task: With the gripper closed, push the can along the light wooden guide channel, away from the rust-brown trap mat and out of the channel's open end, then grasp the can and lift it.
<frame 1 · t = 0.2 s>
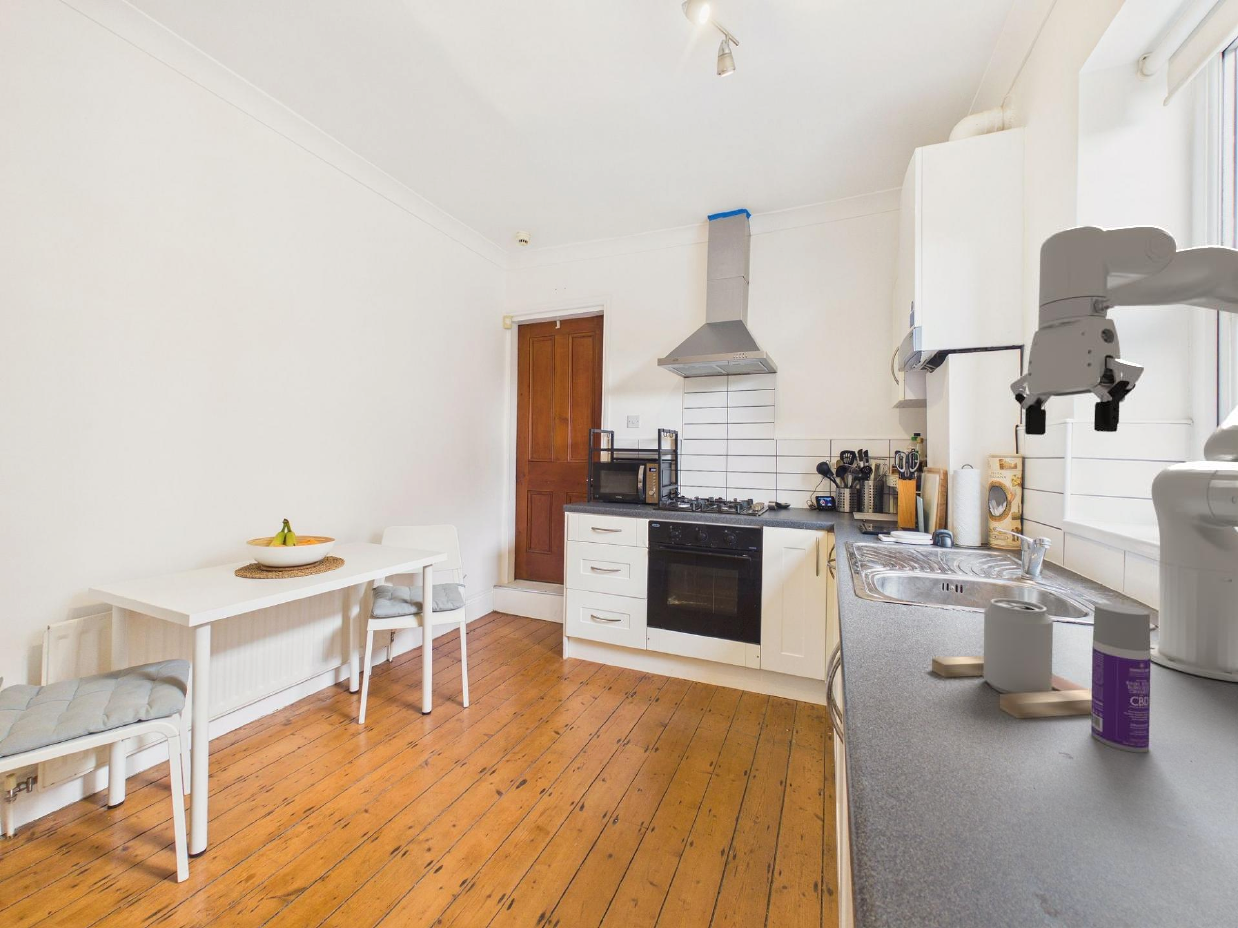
hand: (1068, 433, 75), 36 cm above the table, tool pointing down, fingers open, 9 cm apart
container: (1119, 742, 58), on the table
guide channel: (1022, 688, 71), on the table
can: (1016, 690, 71), on the table
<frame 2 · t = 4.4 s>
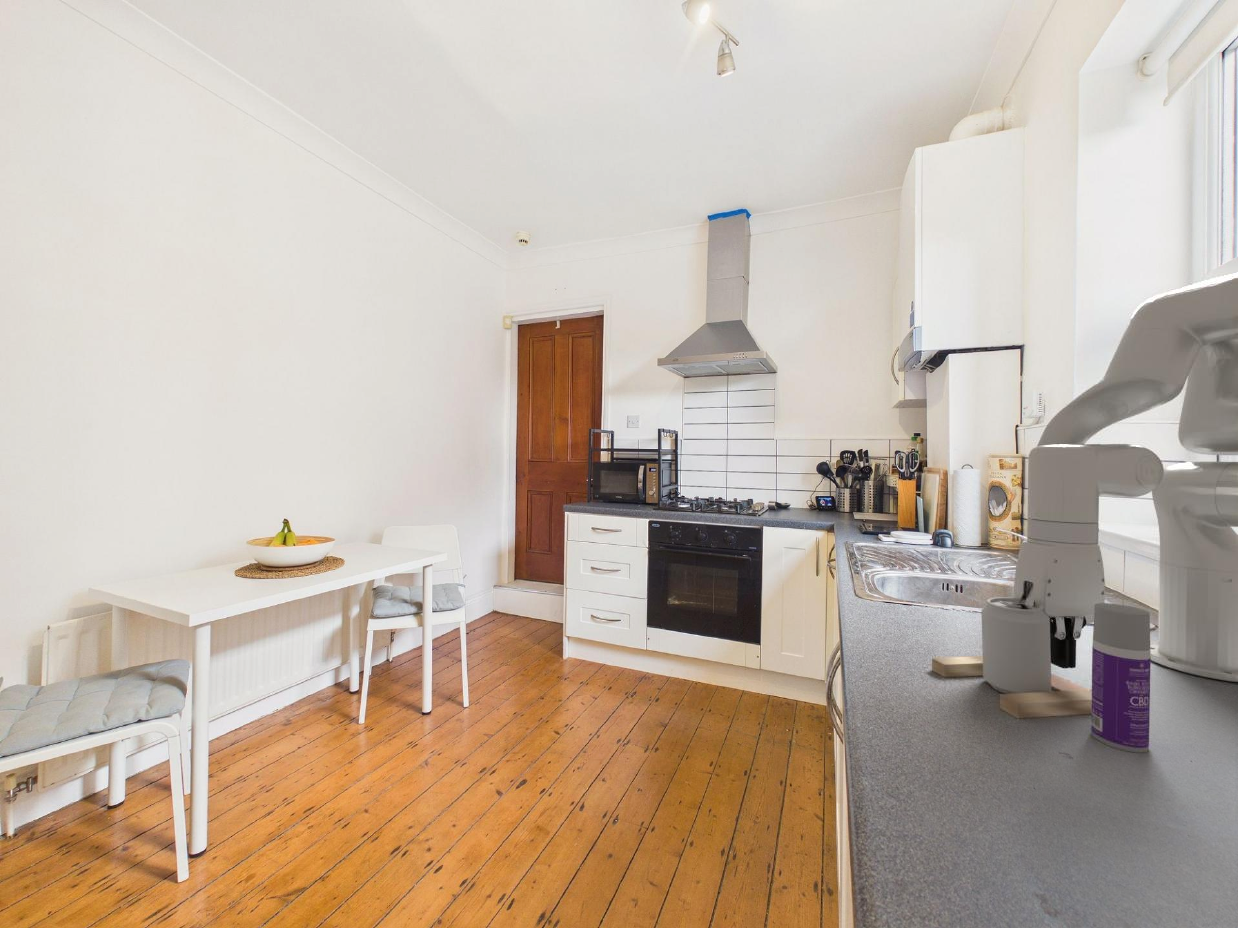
hand: (1059, 664, 71), 3 cm above the table, tool pointing down, fingers closed
can: (1016, 689, 71), on the table, touching gripper
everything else where it was.
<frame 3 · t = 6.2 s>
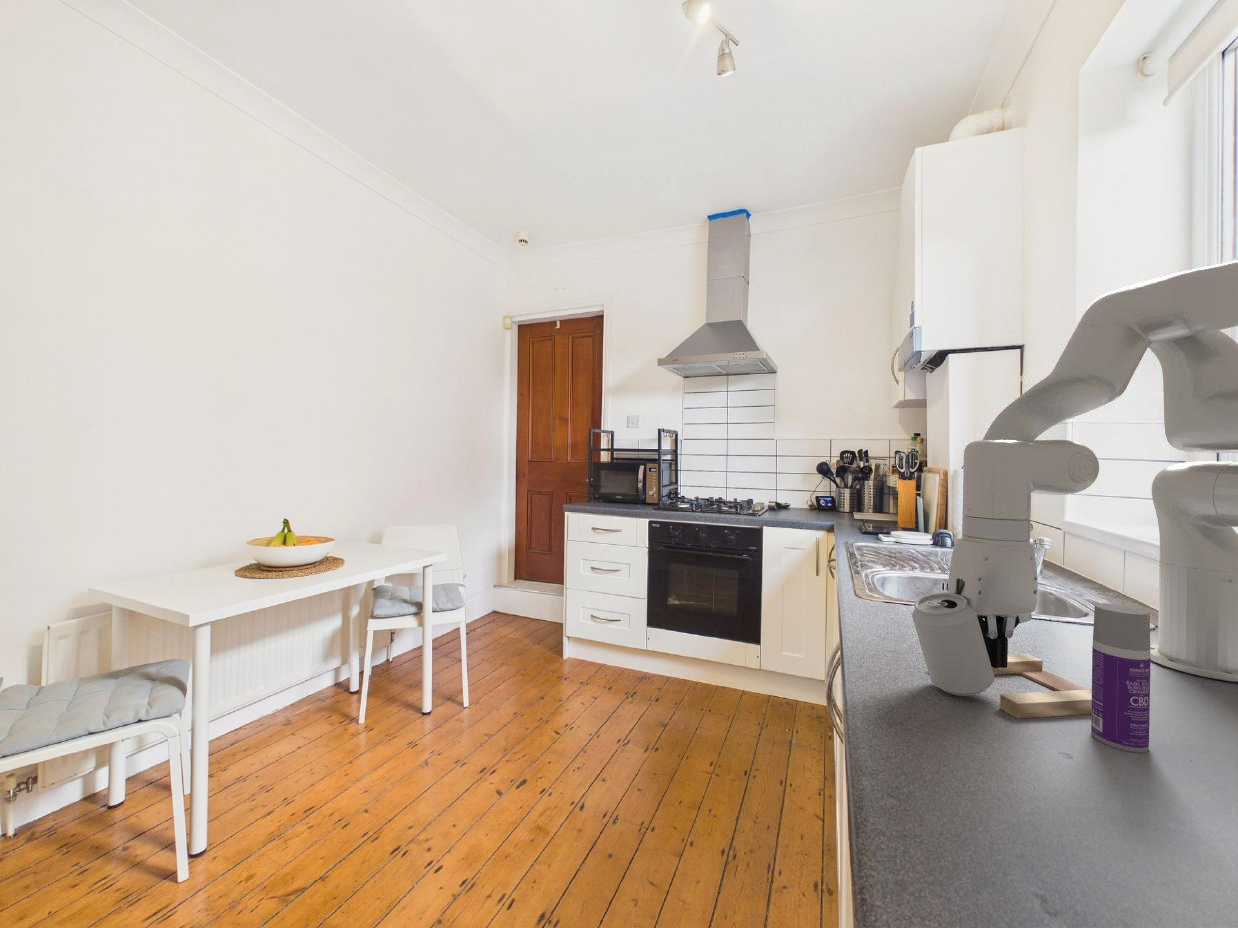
hand: (992, 663, 70), 4 cm above the table, tool pointing down, fingers closed
can: (963, 684, 70), point 1 cm above the table, touching gripper
everything else where it was.
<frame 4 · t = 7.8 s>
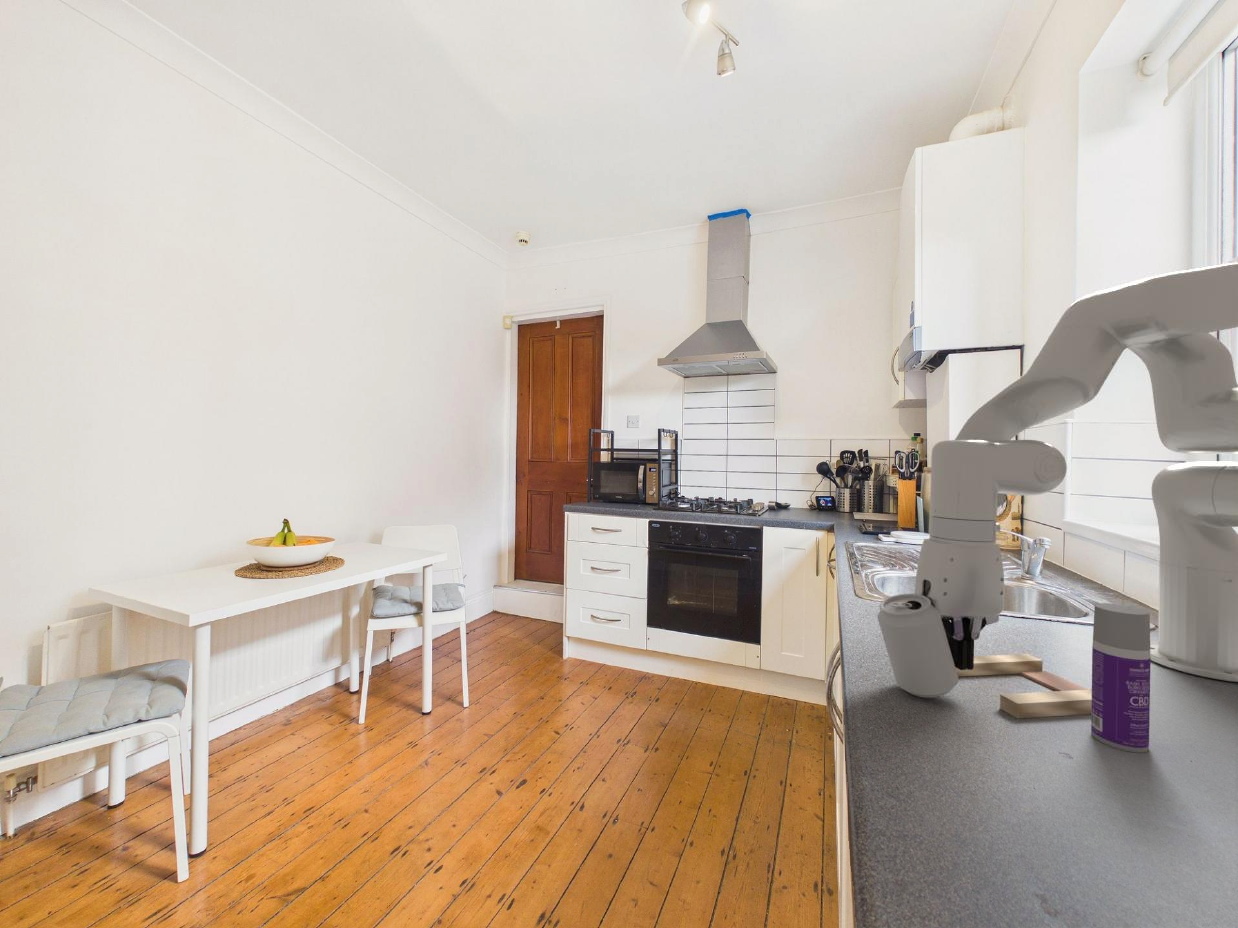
hand: (958, 665, 69), 4 cm above the table, tool pointing down, fingers closed
can: (928, 686, 69), point 1 cm above the table, touching gripper
everything else where it was.
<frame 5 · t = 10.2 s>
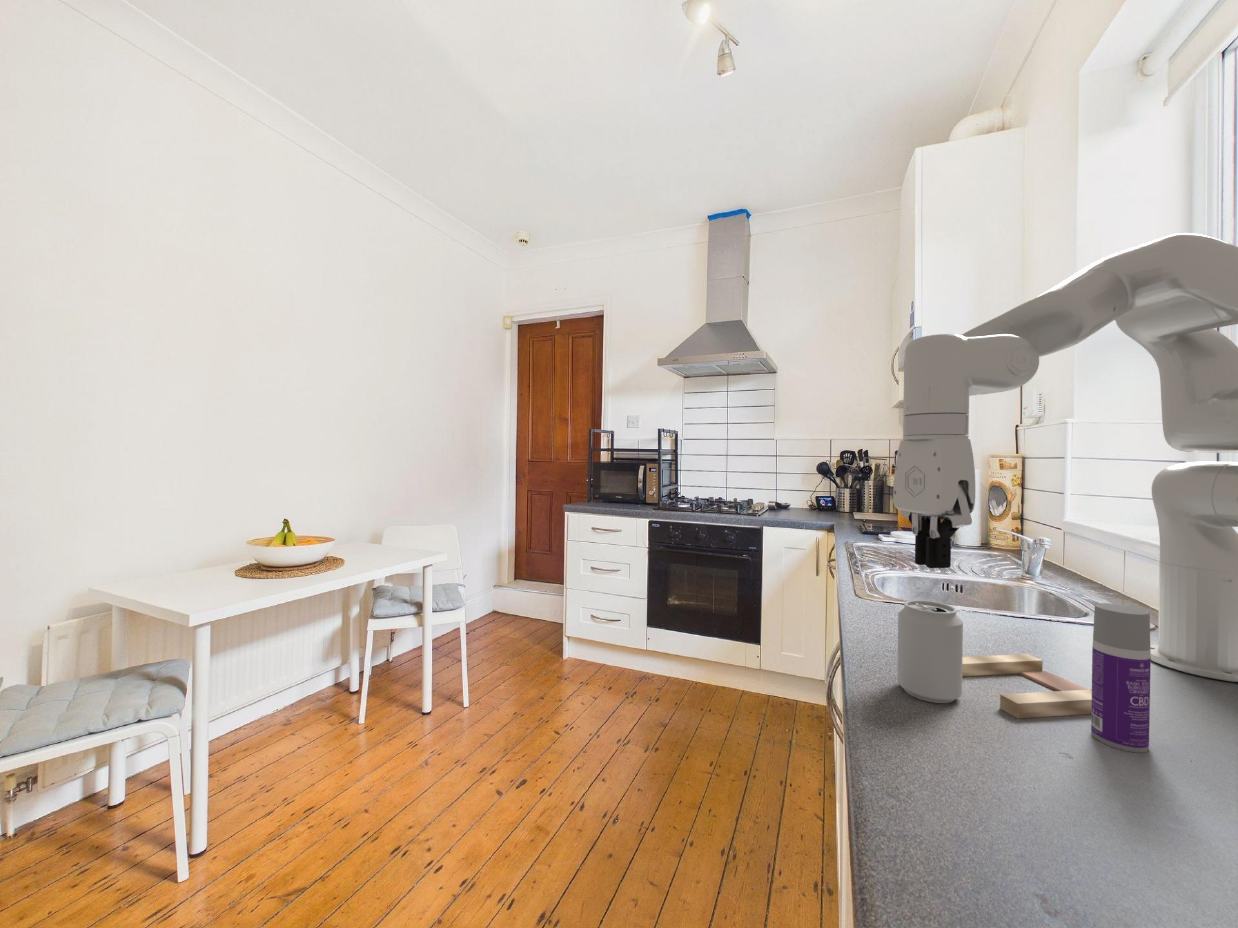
hand: (932, 565, 69), 17 cm above the table, tool pointing down, fingers closed
can: (928, 694, 69), on the table
everything else where it was.
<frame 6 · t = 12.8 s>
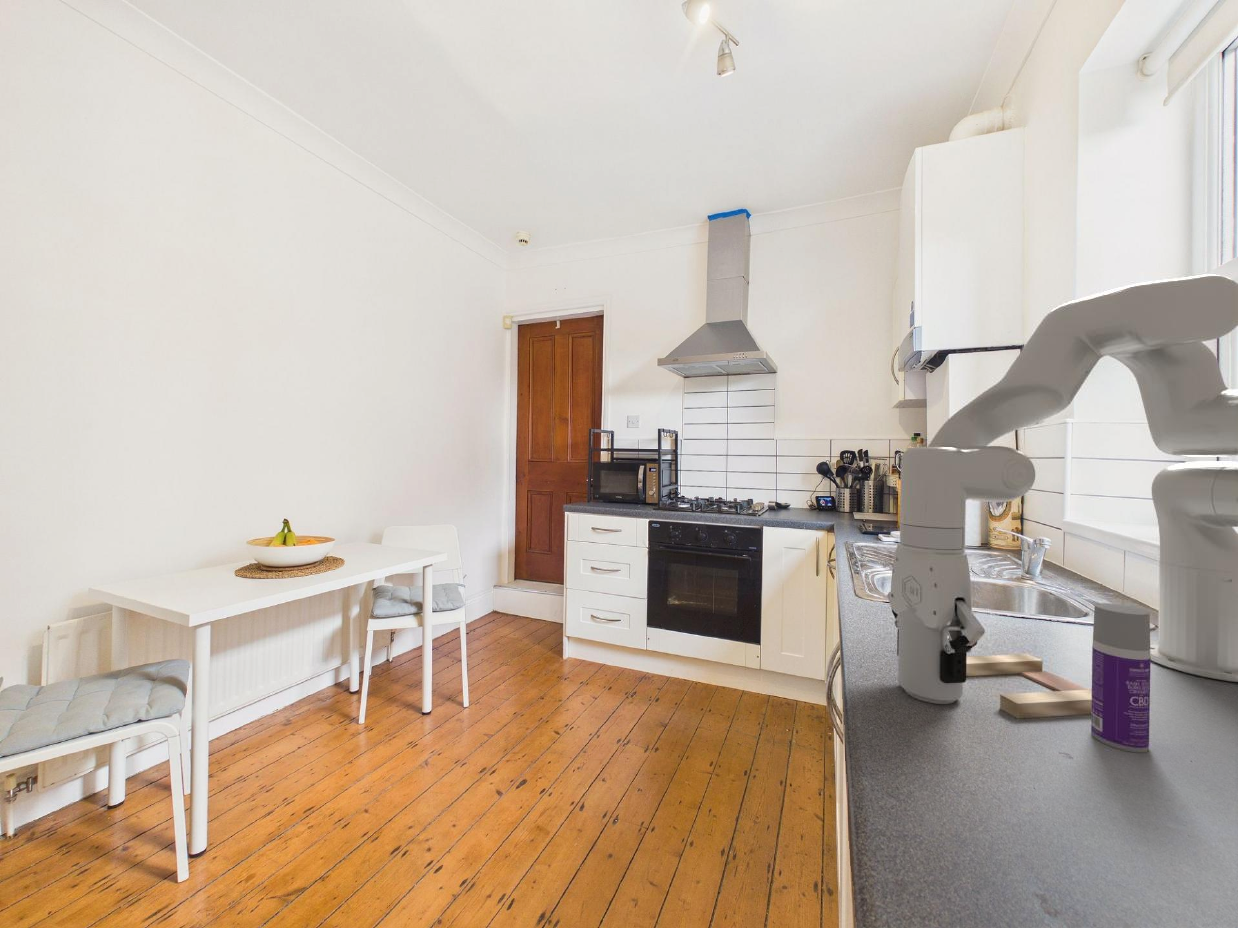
hand: (929, 667, 69), 3 cm above the table, tool pointing down, fingers closed on can, 7 cm apart
can: (929, 695, 69), on the table, touching gripper
everything else where it was.
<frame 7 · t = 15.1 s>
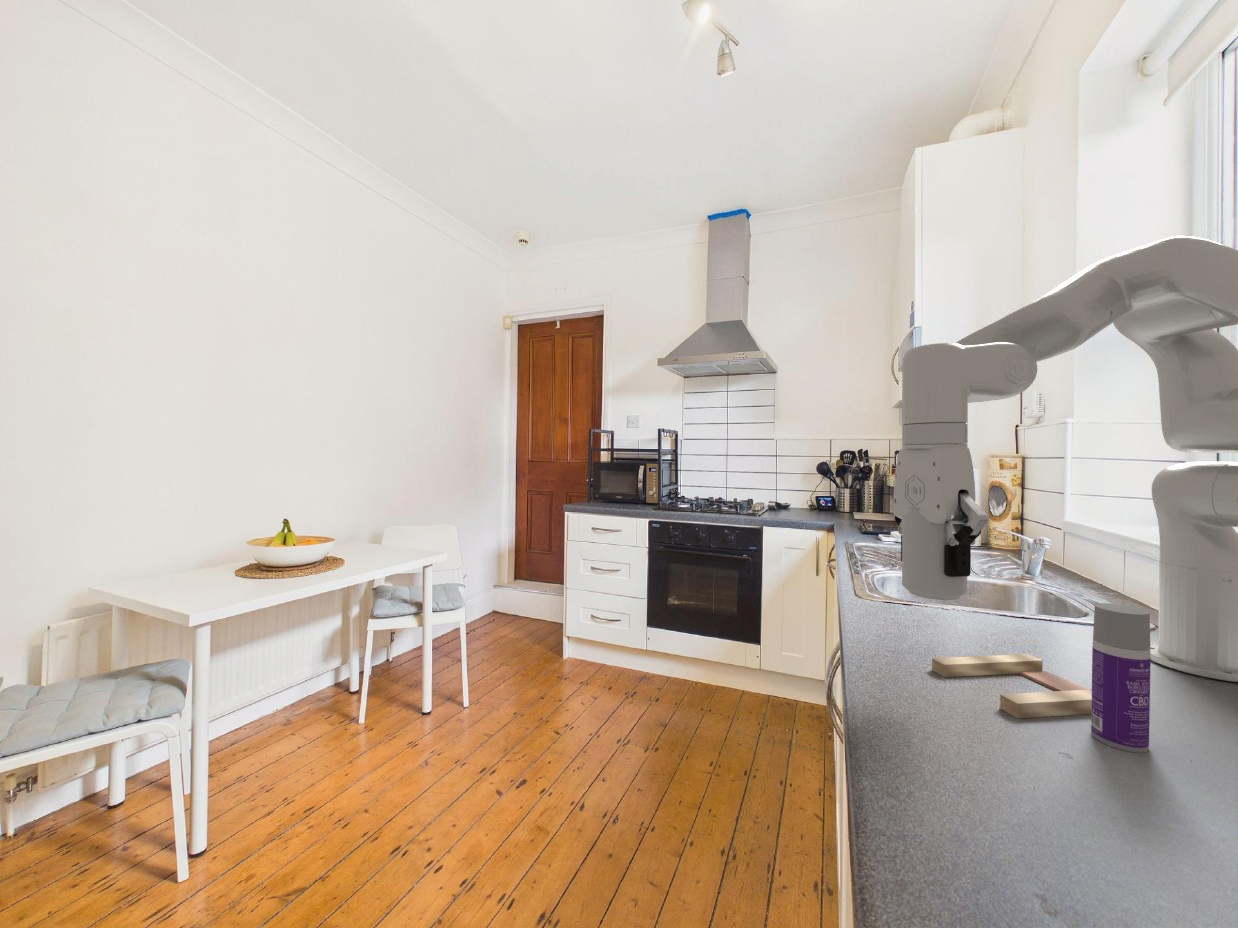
hand: (933, 568, 69), 17 cm above the table, tool pointing down, fingers closed on can, 7 cm apart
can: (933, 595, 69), point 13 cm above the table, touching gripper
everything else where it was.
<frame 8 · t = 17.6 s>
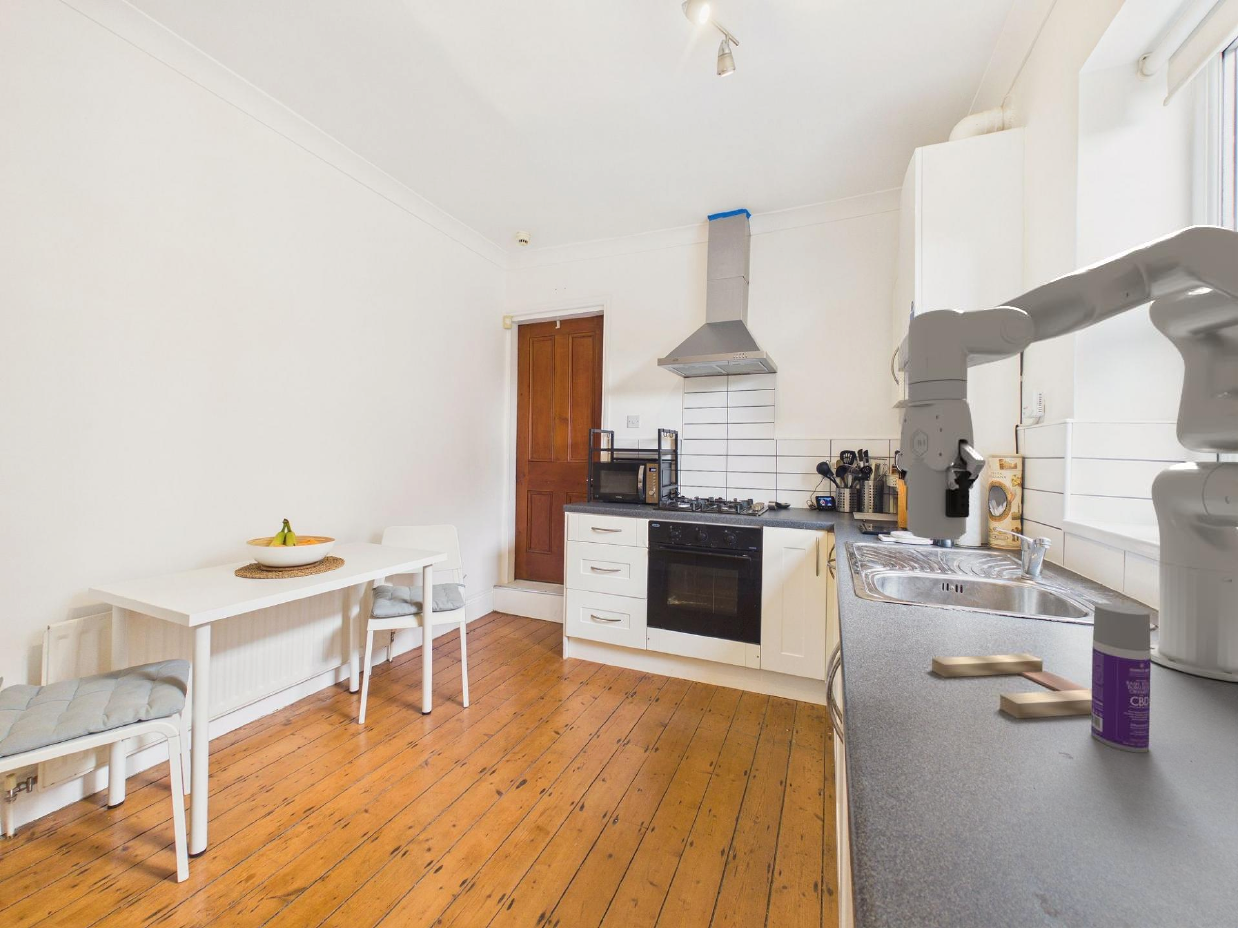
hand: (935, 513, 77), 24 cm above the table, tool pointing down, fingers closed on can, 7 cm apart
can: (935, 537, 77), point 20 cm above the table, touching gripper
everything else where it was.
at the end: the gripper is holding can; can inside the target area (5.4 cm from its centre), point 19.9 cm above the table; can tilted 0° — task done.
